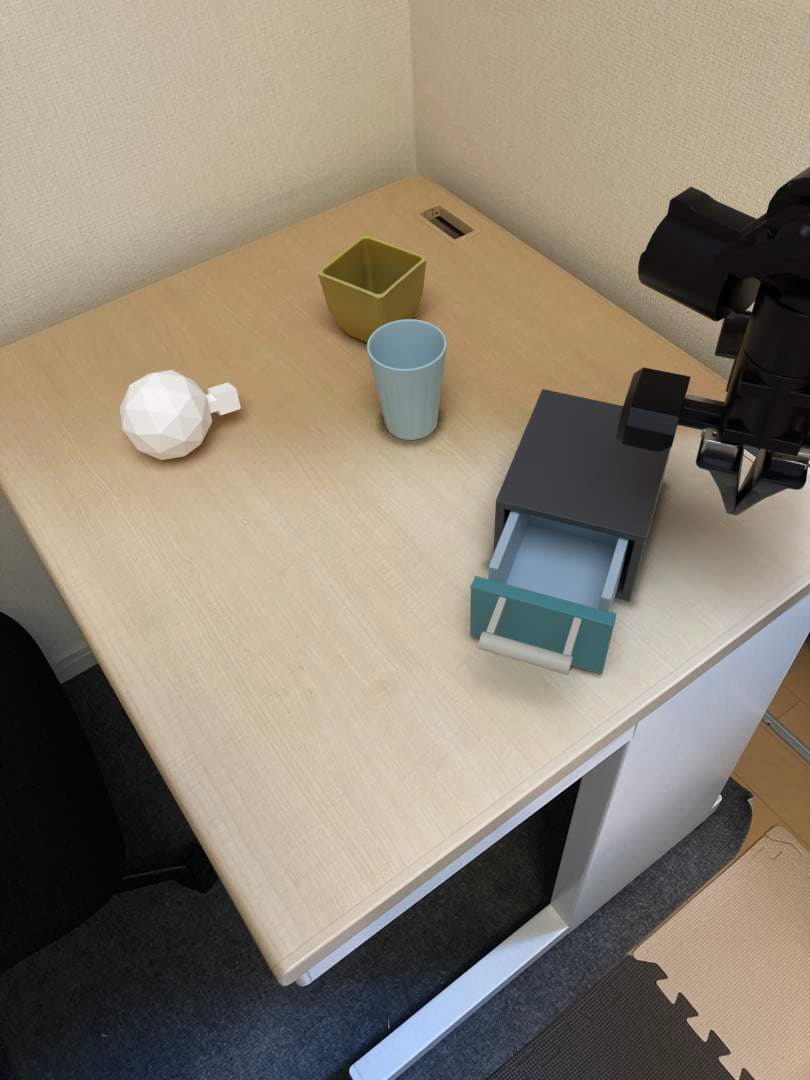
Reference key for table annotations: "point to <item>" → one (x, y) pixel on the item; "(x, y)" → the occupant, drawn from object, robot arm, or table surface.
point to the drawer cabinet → (584, 476)
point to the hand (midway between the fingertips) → (732, 510)
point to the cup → (408, 375)
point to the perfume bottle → (172, 413)
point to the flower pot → (372, 285)
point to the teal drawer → (549, 594)
